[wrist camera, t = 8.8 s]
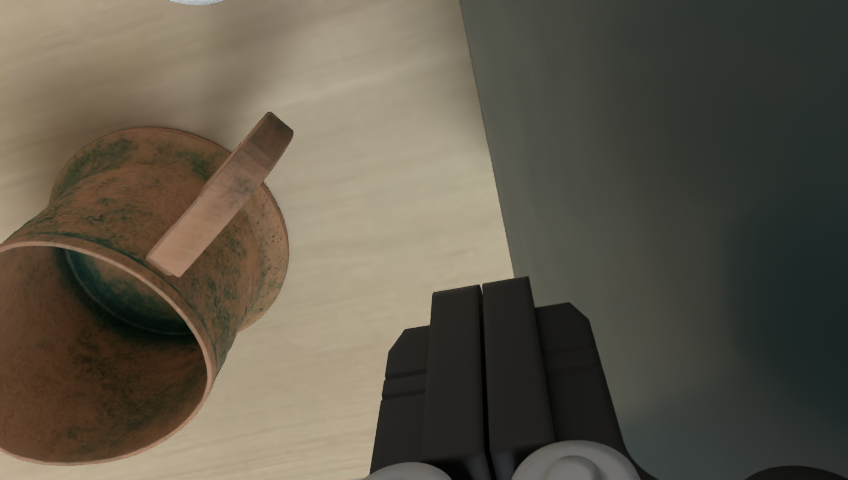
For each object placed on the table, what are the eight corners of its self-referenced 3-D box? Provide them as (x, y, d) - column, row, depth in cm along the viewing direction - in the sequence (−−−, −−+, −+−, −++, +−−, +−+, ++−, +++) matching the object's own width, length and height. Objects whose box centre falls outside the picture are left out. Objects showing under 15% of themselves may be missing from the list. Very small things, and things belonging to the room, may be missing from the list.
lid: (1142, -212, 3) (988, -169, 3) (923, 888, 9) (862, 908, 9) (469, -110, 17) (438, -102, 17) (540, 287, 23) (517, 293, 23)
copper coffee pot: (422, 152, 32) (404, 293, 21) (202, 373, 38) (102, 567, 27) (213, -34, 28) (66, 20, 18) (10, 242, 35) (-188, 405, 24)
